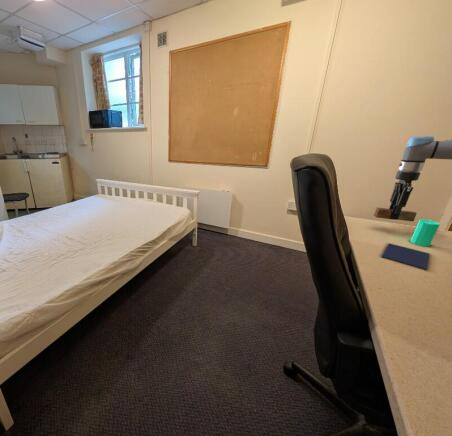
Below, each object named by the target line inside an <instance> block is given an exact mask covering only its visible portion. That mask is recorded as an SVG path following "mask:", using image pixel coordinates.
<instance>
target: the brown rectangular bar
mask: <svg viewBox="0 0 452 436" xmlns="http://www.w3.org/2000/svg"><path fill="white" fill-rule="evenodd" d="M392 211H393V209H389V208H387V207H378V206H377V207H375V210H374V213H373V216H374V217H375V218H378V219H385V220H391V219H390V216H391V214H392ZM417 214H418V213H417V212H416V211H413V210H412V211H411V210H401V212H400V215H399V217H398V220H397V221H406V222H414V221H415V219H416V217H417ZM392 220H393V221H394V219H392Z"/></svg>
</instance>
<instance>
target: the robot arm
mask: <svg viewBox="0 0 452 436" xmlns="http://www.w3.org/2000/svg"><path fill="white" fill-rule="evenodd" d="M427 159H428V160H452V139H447V140H441V141H440V140H435V137H434V136H430V135H429V136H428V135H427V136H411V137H410V138H409V139H408V141H407V144H406V145H405V149H404V151H403V155H402V158H401V160H400V163H398V171H396V174H395V179H396V180H398V181H397V182H394V186H393V190H392V193H391V196H390V199H389V202H390V204H389V208H388V209H393V211H392V214H391V216H390V219H389V220H393V219H394V220H395V221H399V220H398V217H399V215H400V212H401V210H402V209H403V208H406V206H407V204H408V201H409V198H410V196H411V194H412V192H413V190H414V186H412V185H413V184H412V183H413V182H415V181H418V180H419V178H420V176H421V172H422V171H423V169H424V166H425V163H426V160H427ZM402 211H403V210H402ZM394 220H393V221H394Z"/></svg>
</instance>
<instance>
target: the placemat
mask: <svg viewBox="0 0 452 436" xmlns="http://www.w3.org/2000/svg"><path fill="white" fill-rule="evenodd" d="M429 257H430V253H429V252H425V251H421V250H417V249H413V248H409V247H405V246H402V245H397V244H394V243H388V245H387V246H386V248H385V250H384V252H383V254H382V255H381V258H383V259H387V260H390V261H394V262H396V263H397V262H398V263H400V264H404V265H407V266H410V267H415V268H418V269H422V270H425V271H427V268H428V263H429Z"/></svg>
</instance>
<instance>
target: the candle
mask: <svg viewBox="0 0 452 436" xmlns="http://www.w3.org/2000/svg"><path fill="white" fill-rule="evenodd" d="M440 225H441V223H439V222H437V221H434V220H432V218H430V219H422V218H421V219H419V220H418V223H417V225H416V227H415V229H414V232H413V234H412V236H411V238H410V242H411V243H412V244H414V245H417V246H422V247H430V246H431V244H432V242H433V240H434V238H435V236H436V234H437V232H438V230H439V227H440Z"/></svg>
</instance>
